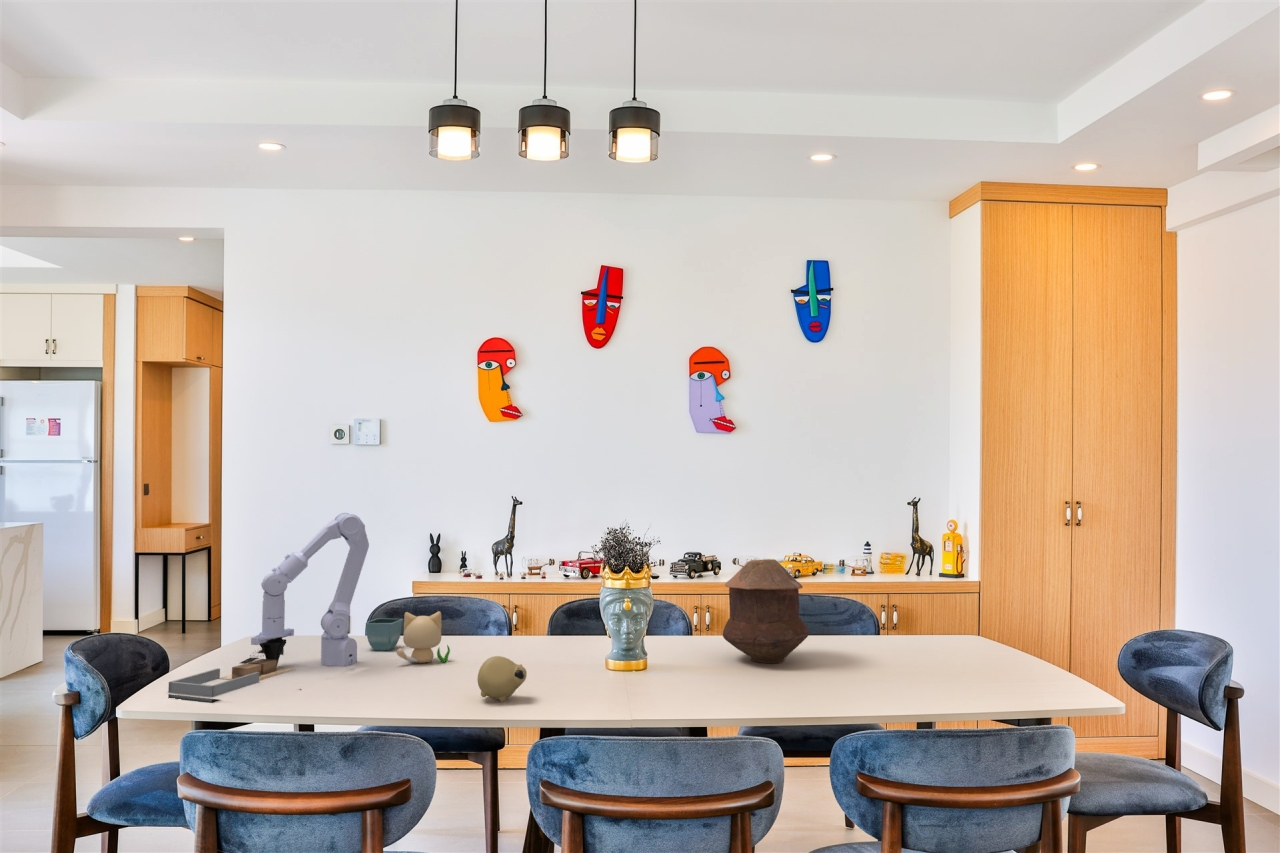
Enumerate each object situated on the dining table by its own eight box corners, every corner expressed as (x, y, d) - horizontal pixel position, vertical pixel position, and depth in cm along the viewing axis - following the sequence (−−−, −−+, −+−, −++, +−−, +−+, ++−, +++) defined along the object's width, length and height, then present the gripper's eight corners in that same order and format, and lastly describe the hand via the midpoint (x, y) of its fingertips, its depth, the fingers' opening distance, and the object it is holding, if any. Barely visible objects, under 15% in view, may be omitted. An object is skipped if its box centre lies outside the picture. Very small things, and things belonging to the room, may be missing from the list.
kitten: (450, 657, 266) (451, 607, 267) (449, 665, 256) (449, 613, 257) (399, 659, 264) (400, 609, 264) (396, 667, 254) (396, 614, 255)
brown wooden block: (276, 671, 242) (276, 659, 242) (263, 675, 237) (263, 663, 238) (261, 669, 244) (261, 658, 244) (248, 673, 239) (248, 662, 239)
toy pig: (524, 705, 214) (524, 660, 214) (474, 705, 214) (474, 660, 214) (528, 694, 224) (528, 652, 224) (480, 694, 224) (481, 652, 224)
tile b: (260, 675, 236) (261, 664, 237) (247, 680, 232) (247, 668, 232) (245, 674, 238) (246, 663, 238) (231, 678, 233) (232, 667, 233)
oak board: (295, 674, 244) (295, 669, 244) (256, 687, 230) (256, 681, 230) (260, 671, 248) (260, 665, 248) (219, 683, 234) (219, 678, 234)
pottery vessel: (802, 673, 247) (801, 565, 248) (713, 666, 255) (713, 562, 257) (814, 654, 271) (814, 556, 273) (733, 649, 280) (732, 554, 281)
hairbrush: (222, 663, 247) (263, 641, 272) (222, 676, 247) (263, 653, 272) (251, 663, 247) (289, 641, 272) (251, 677, 247) (289, 653, 272)
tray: (258, 687, 230) (259, 672, 230) (211, 703, 215) (212, 686, 215) (217, 683, 234) (217, 668, 234) (168, 698, 219) (168, 682, 219)
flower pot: (376, 646, 283) (377, 617, 284) (402, 646, 282) (403, 618, 283) (364, 651, 275) (365, 622, 275) (391, 652, 273) (391, 623, 274)
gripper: (280, 612, 253) (279, 660, 252) (242, 620, 239) (241, 671, 239) (300, 613, 251) (299, 661, 250) (263, 622, 237) (262, 673, 236)
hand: (272, 666), depth 244 cm, fingers closed
